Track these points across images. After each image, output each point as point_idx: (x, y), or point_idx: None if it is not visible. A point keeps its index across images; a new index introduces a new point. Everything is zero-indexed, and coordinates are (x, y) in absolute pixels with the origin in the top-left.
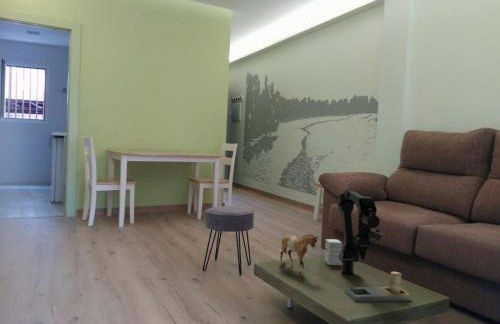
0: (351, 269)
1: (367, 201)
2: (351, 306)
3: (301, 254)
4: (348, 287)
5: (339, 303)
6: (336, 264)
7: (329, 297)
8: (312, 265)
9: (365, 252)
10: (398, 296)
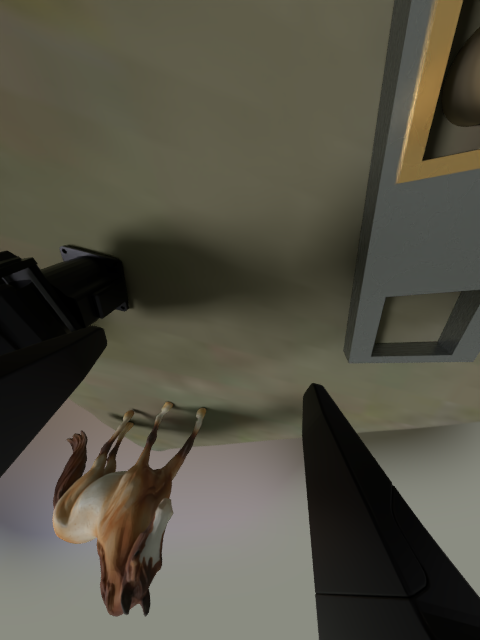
0: (98, 277)
1: None
2: None
3: (169, 479)
4: (353, 354)
5: (450, 393)
6: None
7: (386, 400)
8: None
9: (399, 500)
10: None
